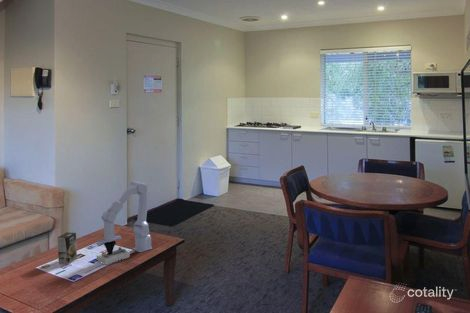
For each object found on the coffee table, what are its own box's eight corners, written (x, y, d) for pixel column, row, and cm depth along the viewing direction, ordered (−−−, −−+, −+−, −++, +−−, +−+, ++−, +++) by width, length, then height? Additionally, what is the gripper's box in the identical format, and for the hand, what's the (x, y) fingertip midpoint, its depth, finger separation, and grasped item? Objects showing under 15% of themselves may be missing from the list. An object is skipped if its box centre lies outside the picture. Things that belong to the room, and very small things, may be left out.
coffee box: (68, 264, 227) (66, 237, 224) (58, 263, 228) (56, 237, 226) (77, 258, 236) (76, 232, 233) (68, 257, 237) (66, 231, 235)
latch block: (120, 252, 245) (120, 245, 245) (129, 257, 239) (129, 249, 238) (96, 260, 234) (96, 252, 233) (105, 265, 227) (105, 257, 226)
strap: (121, 250, 242) (121, 247, 241) (124, 251, 240) (124, 248, 239) (102, 256, 232) (102, 253, 232) (105, 257, 230) (105, 255, 230)
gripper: (116, 227, 240) (117, 248, 242) (94, 232, 229) (95, 255, 231) (122, 229, 235) (123, 251, 237) (100, 235, 225) (101, 258, 227)
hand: (109, 253), depth 234 cm, fingers closed, pressing on strap
